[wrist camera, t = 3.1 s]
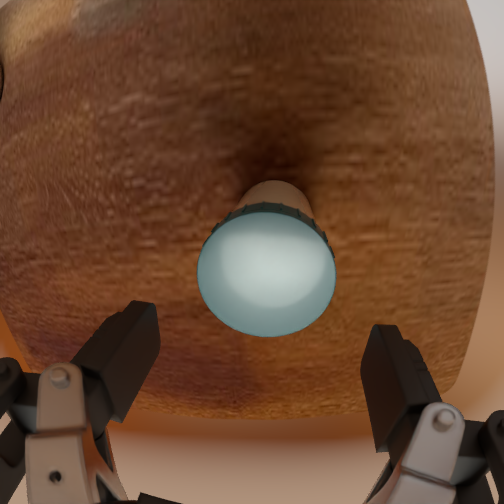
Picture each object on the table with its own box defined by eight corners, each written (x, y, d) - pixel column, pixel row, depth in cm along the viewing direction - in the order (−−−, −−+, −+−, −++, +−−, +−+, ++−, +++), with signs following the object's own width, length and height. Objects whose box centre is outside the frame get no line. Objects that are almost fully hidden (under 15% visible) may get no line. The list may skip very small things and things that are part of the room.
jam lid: (206, 311, 17) (198, 330, 15) (205, 196, 15) (194, 205, 13) (321, 322, 17) (324, 342, 15) (340, 207, 14) (348, 217, 12)
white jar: (235, 249, 25) (205, 321, 16) (238, 177, 23) (203, 209, 13) (307, 255, 25) (319, 332, 15) (315, 183, 23) (338, 220, 13)
